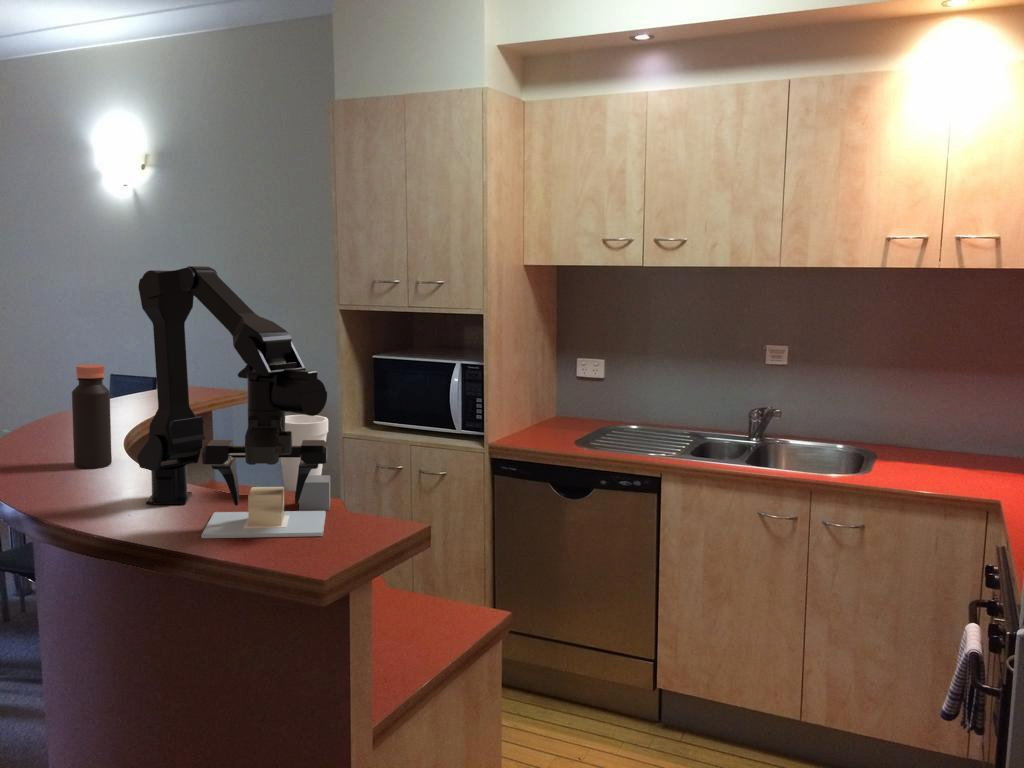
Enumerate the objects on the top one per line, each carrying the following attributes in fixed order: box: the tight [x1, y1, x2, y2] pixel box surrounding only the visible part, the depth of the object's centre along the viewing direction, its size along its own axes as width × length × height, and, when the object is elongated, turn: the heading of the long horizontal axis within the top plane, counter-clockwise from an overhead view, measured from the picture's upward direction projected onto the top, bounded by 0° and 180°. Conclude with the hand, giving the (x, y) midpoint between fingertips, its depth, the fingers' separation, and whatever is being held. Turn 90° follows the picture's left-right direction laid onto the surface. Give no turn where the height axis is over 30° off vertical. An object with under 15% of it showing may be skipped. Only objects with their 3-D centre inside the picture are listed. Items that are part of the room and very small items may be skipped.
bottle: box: [71, 364, 113, 470], centre depth 176 cm, size 7×7×20 cm
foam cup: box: [280, 414, 329, 492], centre depth 165 cm, size 10×9×13 cm
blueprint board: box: [200, 510, 327, 539], centre depth 141 cm, size 12×18×1 cm, turn 100°
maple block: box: [247, 486, 285, 526], centre depth 141 cm, size 5×5×5 cm
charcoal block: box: [298, 474, 331, 511], centre depth 153 cm, size 5×5×5 cm
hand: (266, 504), depth 141 cm, fingers open, 9 cm apart
